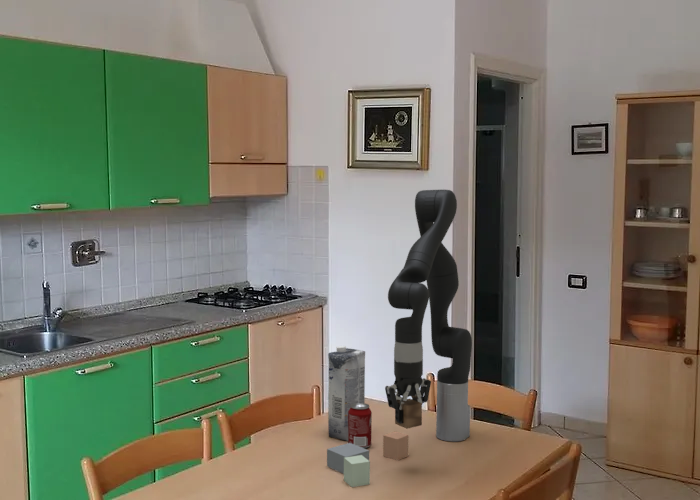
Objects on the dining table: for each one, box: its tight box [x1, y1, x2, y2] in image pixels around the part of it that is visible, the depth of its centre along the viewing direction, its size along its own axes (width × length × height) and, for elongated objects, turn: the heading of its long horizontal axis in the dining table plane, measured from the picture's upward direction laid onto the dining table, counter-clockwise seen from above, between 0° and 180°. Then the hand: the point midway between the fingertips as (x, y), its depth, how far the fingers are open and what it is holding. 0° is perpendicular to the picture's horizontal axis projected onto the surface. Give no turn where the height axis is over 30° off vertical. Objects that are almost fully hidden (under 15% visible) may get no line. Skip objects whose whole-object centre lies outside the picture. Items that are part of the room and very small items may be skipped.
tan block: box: [382, 431, 410, 461], centre depth 219 cm, size 5×5×6 cm
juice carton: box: [327, 345, 366, 442], centre depth 235 cm, size 9×10×27 cm
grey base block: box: [326, 442, 370, 475], centre depth 210 cm, size 8×8×5 cm
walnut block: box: [394, 398, 423, 430], centre depth 207 cm, size 5×5×6 cm
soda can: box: [347, 402, 373, 449], centre depth 226 cm, size 7×7×12 cm
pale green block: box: [343, 455, 371, 488], centre depth 200 cm, size 5×5×6 cm
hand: (408, 420), depth 208 cm, fingers closed on walnut block, 5 cm apart
